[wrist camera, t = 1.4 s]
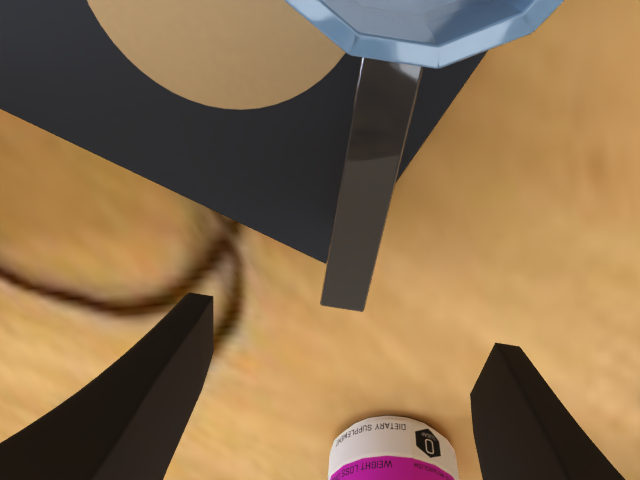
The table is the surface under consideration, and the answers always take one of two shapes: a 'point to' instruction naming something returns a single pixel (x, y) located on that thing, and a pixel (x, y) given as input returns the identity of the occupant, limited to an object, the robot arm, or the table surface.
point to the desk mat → (205, 100)
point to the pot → (395, 105)
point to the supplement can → (392, 452)
